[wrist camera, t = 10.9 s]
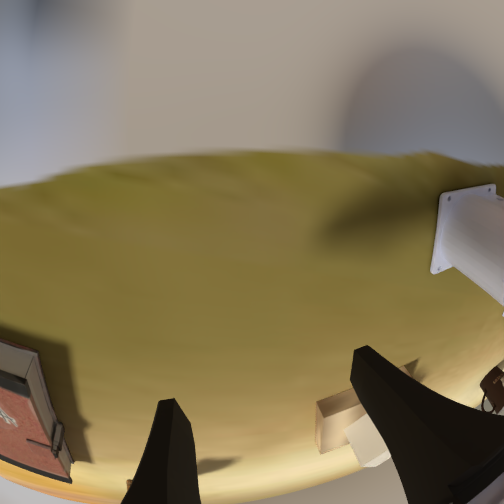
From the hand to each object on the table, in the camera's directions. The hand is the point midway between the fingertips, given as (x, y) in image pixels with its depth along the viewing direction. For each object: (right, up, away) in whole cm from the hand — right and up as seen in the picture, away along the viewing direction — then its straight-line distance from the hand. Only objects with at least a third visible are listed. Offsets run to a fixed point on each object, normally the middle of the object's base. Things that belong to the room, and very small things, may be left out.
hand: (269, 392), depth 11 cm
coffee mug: (+55, -24, +38) cm, 71 cm away
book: (-31, -13, +12) cm, 36 cm away
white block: (+14, -16, +21) cm, 30 cm away
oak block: (+13, -15, +23) cm, 31 cm away
